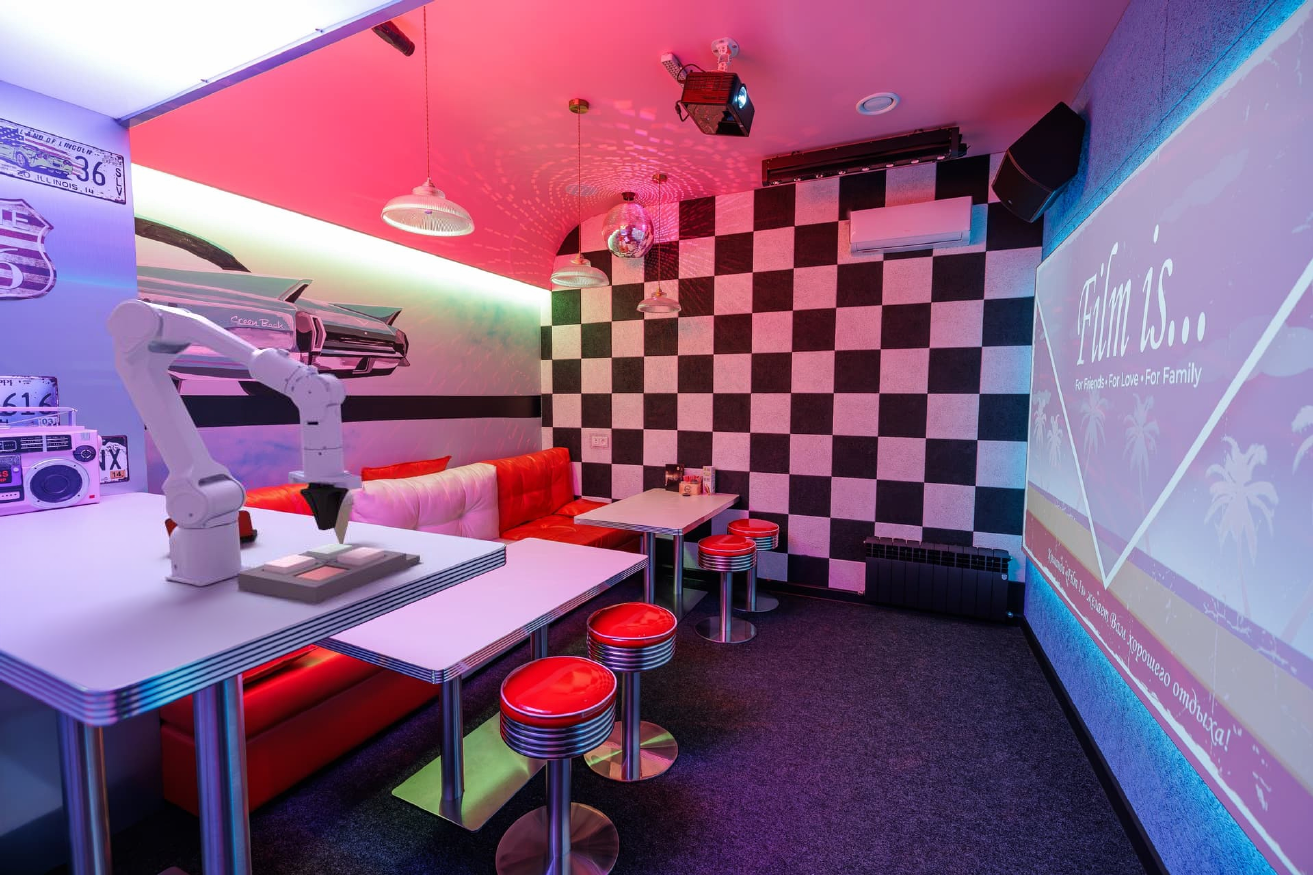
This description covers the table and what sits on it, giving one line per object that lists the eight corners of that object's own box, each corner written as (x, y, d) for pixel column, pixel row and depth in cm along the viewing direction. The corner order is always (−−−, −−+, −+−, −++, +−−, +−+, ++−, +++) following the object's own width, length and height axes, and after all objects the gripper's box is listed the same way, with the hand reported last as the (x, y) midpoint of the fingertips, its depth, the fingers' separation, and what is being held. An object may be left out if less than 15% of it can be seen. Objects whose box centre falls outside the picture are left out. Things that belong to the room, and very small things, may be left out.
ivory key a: (264, 571, 83) (263, 563, 83) (294, 561, 88) (294, 554, 88) (285, 574, 82) (285, 567, 81) (315, 565, 86) (314, 557, 86)
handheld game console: (258, 533, 113) (255, 499, 112) (252, 547, 104) (249, 509, 103) (180, 542, 107) (177, 506, 106) (166, 557, 97) (163, 518, 97)
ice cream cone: (346, 548, 102) (342, 471, 101) (320, 548, 102) (315, 471, 101) (361, 540, 107) (357, 467, 106) (336, 540, 107) (332, 467, 106)
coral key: (296, 583, 81) (295, 576, 81) (325, 573, 85) (325, 566, 85) (319, 588, 79) (318, 580, 79) (347, 577, 84) (347, 570, 84)
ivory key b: (337, 562, 87) (337, 555, 87) (362, 553, 92) (362, 547, 92) (359, 565, 86) (359, 558, 86) (384, 556, 90) (383, 550, 90)
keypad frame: (238, 588, 82) (237, 572, 82) (350, 551, 100) (350, 538, 100) (316, 604, 76) (314, 587, 76) (420, 562, 95) (419, 548, 94)
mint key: (307, 557, 90) (306, 550, 90) (333, 549, 94) (332, 542, 94) (327, 560, 88) (327, 553, 88) (353, 552, 93) (353, 545, 93)
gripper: (376, 447, 89) (379, 527, 90) (314, 443, 94) (319, 518, 95) (337, 452, 82) (341, 538, 84) (273, 447, 87) (278, 528, 89)
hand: (327, 528), depth 89 cm, fingers closed
